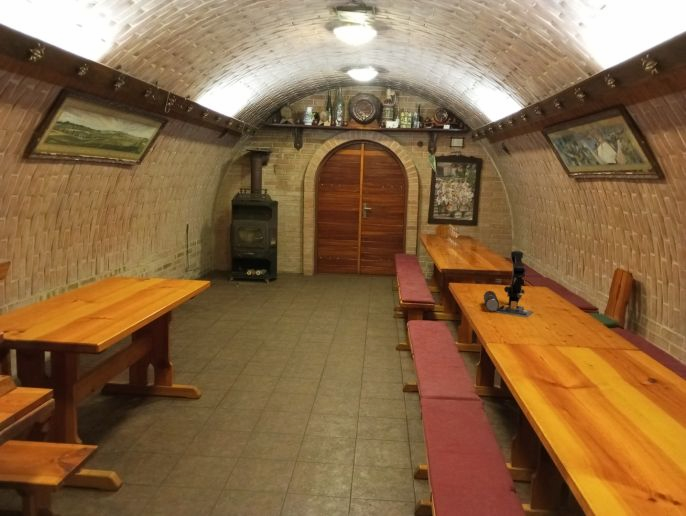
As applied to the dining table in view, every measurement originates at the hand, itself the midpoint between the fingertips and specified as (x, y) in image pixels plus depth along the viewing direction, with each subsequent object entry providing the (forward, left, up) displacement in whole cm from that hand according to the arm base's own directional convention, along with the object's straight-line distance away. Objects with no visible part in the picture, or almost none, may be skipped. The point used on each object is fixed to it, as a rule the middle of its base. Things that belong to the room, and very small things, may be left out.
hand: (515, 305), depth 391 cm
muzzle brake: (+1, -17, -5) cm, 18 cm away
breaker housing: (+2, +2, -4) cm, 5 cm away
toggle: (+6, 0, -3) cm, 7 cm away
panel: (+2, 0, -5) cm, 5 cm away
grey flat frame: (+3, 0, -4) cm, 5 cm away
